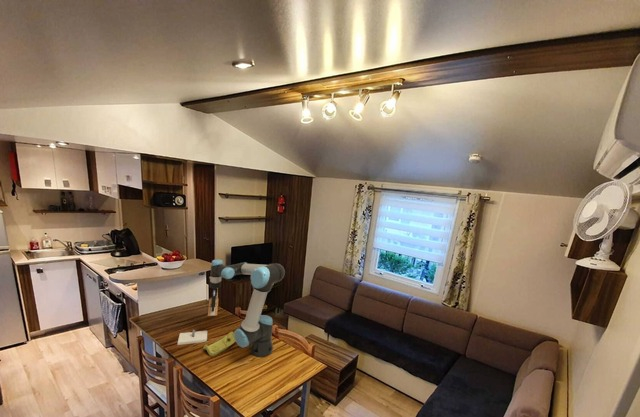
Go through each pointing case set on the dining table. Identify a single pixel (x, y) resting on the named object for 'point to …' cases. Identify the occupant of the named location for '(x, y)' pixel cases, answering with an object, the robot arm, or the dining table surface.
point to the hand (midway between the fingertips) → (212, 312)
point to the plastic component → (220, 345)
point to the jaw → (215, 306)
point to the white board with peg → (192, 337)
